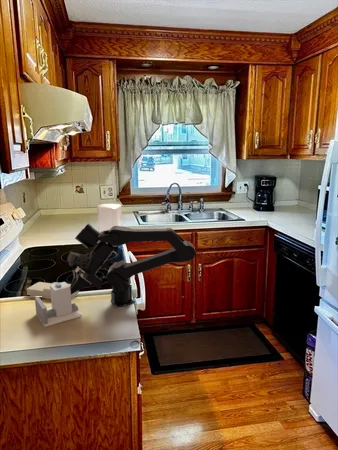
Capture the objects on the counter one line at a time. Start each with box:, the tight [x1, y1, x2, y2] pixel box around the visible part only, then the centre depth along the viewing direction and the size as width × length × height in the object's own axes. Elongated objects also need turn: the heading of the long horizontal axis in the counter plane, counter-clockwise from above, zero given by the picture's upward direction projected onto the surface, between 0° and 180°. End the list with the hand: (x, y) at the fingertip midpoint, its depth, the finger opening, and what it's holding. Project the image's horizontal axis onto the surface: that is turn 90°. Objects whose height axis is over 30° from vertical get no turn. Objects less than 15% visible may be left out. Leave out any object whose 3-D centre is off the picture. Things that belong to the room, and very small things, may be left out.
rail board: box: [34, 297, 82, 327], centre depth 111 cm, size 12×10×6 cm
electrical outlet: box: [26, 281, 80, 301], centre depth 127 cm, size 7×4×18 cm
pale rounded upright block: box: [96, 203, 123, 233], centre depth 208 cm, size 15×14×22 cm
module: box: [50, 281, 73, 317], centre depth 111 cm, size 5×6×10 cm
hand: (68, 293), depth 113 cm, fingers closed
